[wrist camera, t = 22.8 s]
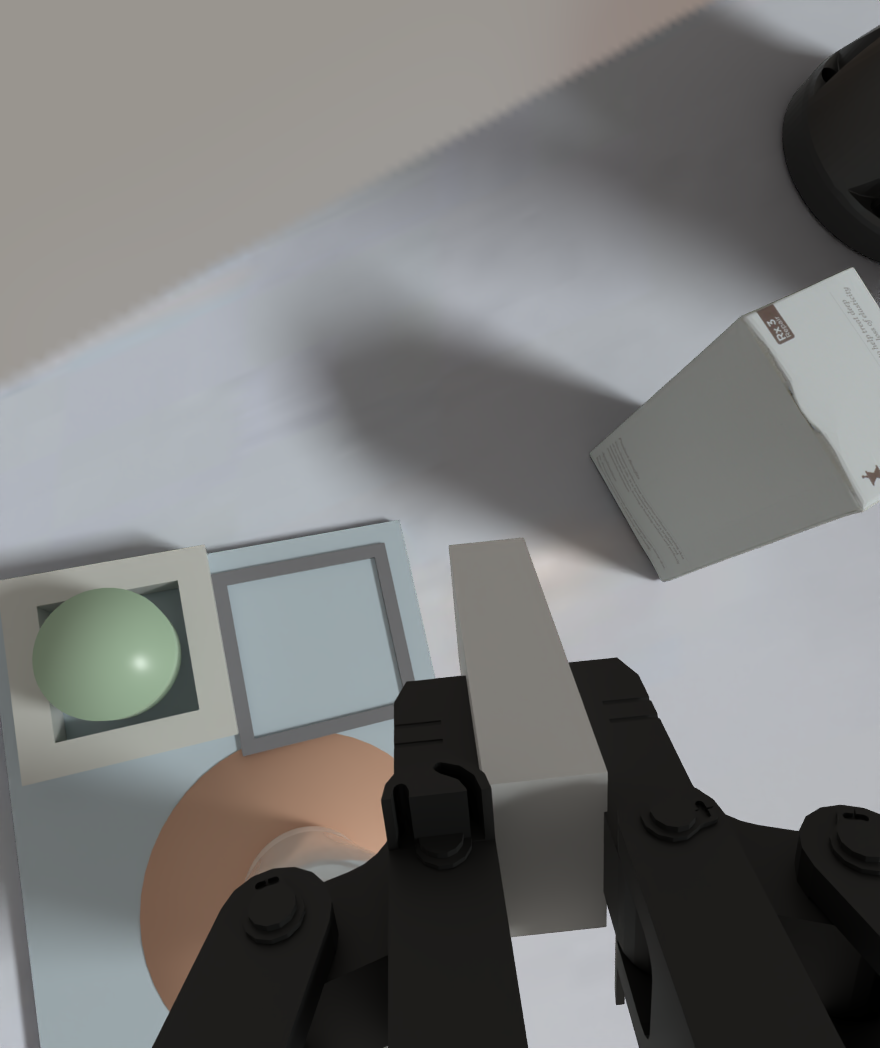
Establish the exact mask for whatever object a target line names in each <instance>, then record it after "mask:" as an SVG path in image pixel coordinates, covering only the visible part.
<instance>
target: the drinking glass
mask: <svg viewBox="0 0 880 1048" xmlns="http://www.w3.org/2000/svg"><path fill="white" fill-rule="evenodd" d="M376 854H377V853H375V852H373V851H371V850H368V849H366V848H364V847H362V846H359V845H357V844H355V843H354V842H353V841H351V840H350V839H349V838H348V837H346V836H345V835H343V834H342V833H340V832H338V831H335V830H333V829H330V828H326V827H321V826H305V827H299V828H295V829H292V830H289V831H287V832H285V833H283V834H281V835H279V836H278V837H276V838H275V839H273V840H272V841H271V842H270V843H268V844H267V845H266V846H265V847H264V848H263V849H262V850H261V851H260V853H259V854H258V855H257V857H256V858H255V859H254V861H253V863H252V864H251V866H250V868H249V870H248V873H247V875H246V878H245V881H244V883H245V882H246V881H247V880H249V879H250V878H251V877H253V876H255V875H258V874H260V873H263V872H265V871H268V870H270V869H273V868H284V867H297V868H301V869H304V870H307V871H311V872H313V873H314V874H316V875H317V876H318V877H319V878H320V879H321V880H322V881H323V882H325V881H327V880H330V879H332V878H335V877H337V876H340V875H342V874H345V873H347V872H349V871H351V870H353V869H355V868H357V867H359V866H361V865H363V864H365V863H366V862H367V861H368V860H370V859H371V858H372V857H373V856H375V855H376ZM385 1048H388V1046H387V1047H385Z"/></svg>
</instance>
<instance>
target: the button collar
mask: <svg viewBox="0 0 880 1048" xmlns="http://www.w3.org/2000/svg"><path fill="white" fill-rule="evenodd" d="M99 588H119V589H125V590H129V591H132V592H134V593H137V594H139V595H145V594H150V593H156V592H161V591H166V590H172V589H177V588H179V591H180V597H181V603H182V609H183V615H184V621H185V627H186V633H187V639H188V645H189V651H190V657H191V663H192V668H193V674H194V680H195V686H196V692H197V698H198V704H199V710H196V711H192V712H187V713H183V714H179V715H174V716H170V717H166V718H161V719H157V720H153V721H148V722H144V723H140V724H135V725H131V726H127V727H122V728H118V729H114V730H109V731H105V732H101V733H96V734H92V735H88V736H83V737H79V738H75V739H70V740H67V738H66V731H65V724H64V716H63V712H62V711H60V710H59V709H57V708H56V707H55V706H53V705H52V704H51V703H50V702H49V701H48V700H47V699H46V697H45V696H44V695H43V693H42V692H41V690H40V688H39V686H38V685H37V682H36V679H35V676H34V672H33V664H32V656H33V648H34V643H35V640H36V637H37V635H38V632H39V630H40V628H41V626H42V625H43V623H44V622H45V620H46V619H47V618H48V616H49V615H50V613H49V612H53V611H54V610H55V609H56V608H57V607H58V606H60V605H61V604H62V603H63V602H65V601H66V600H68V599H70V598H71V597H73V596H75V595H77V594H80V593H83V592H85V591H89V590H93V589H99ZM0 613H1V621H2V629H3V637H4V645H5V653H6V661H7V669H8V677H9V685H10V693H11V701H12V709H13V717H14V726H15V734H16V742H17V750H18V758H19V766H20V774H21V782H22V786H26V785H30V784H34V783H38V782H42V781H47V780H51V779H55V778H59V777H63V776H67V775H71V774H75V773H80V772H84V771H88V770H92V769H96V768H100V767H104V766H108V765H113V764H117V763H121V762H125V761H129V760H133V759H137V758H142V757H146V756H150V755H154V754H158V753H162V752H166V751H170V750H175V749H179V748H183V747H187V746H191V745H195V744H199V743H203V742H208V741H212V740H216V739H220V738H224V737H228V736H232V735H236V734H238V733H239V731H238V726H237V720H236V714H235V709H234V703H233V697H232V692H231V686H230V680H229V675H228V669H227V663H226V658H225V652H224V646H223V641H222V635H221V629H220V624H219V618H218V612H217V607H216V601H215V595H214V590H213V584H212V578H211V572H210V566H209V561H208V555H207V551H206V548H205V545H200V546H194V547H188V548H182V549H177V550H171V551H165V552H159V553H154V554H148V555H142V556H136V557H131V558H125V559H119V560H113V561H108V562H102V563H96V564H90V565H85V566H79V567H73V568H67V569H62V570H56V571H50V572H44V573H39V574H33V575H27V576H21V577H16V578H10V579H4V580H0Z"/></svg>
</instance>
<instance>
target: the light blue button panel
mask: <svg viewBox="0 0 880 1048" xmlns="http://www.w3.org/2000/svg"><path fill="white" fill-rule="evenodd" d="M207 555H208V561H209V566H210V572H211V578H212V584H213V590H214V595H215V601H216V607H217V612H218V618H219V624H220V629H221V635H222V641H223V646H224V652H225V658H226V663H227V669H228V675H229V680H230V686H231V692H232V697H233V703H234V709H235V714H236V720H237V726H238V731H239V733H238V734H236V735H232V736H228V737H224V738H220V739H216V740H212V741H208V742H203V743H199V744H195V745H191V746H187V747H183V748H179V749H175V750H170V751H166V752H162V753H158V754H154V755H150V756H146V757H142V758H137V759H133V760H129V761H125V762H121V763H117V764H113V765H108V766H104V767H100V768H96V769H92V770H88V771H84V772H80V773H75V774H71V775H67V776H63V777H59V778H55V779H51V780H47V781H42V782H38V783H34V784H30V785H26V786H22V782H21V774H20V766H19V758H18V750H17V742H16V734H15V726H14V717H13V709H12V701H11V693H10V685H9V677H8V669H7V661H6V653H5V645H4V637H3V629H2V621H1V613H0V717H1V726H2V734H3V742H4V750H5V759H6V767H7V775H8V783H9V792H10V800H11V808H12V816H13V825H14V833H15V841H16V849H17V858H18V866H19V874H20V882H21V891H22V899H23V907H24V916H25V924H26V932H27V940H28V949H29V957H30V965H31V973H32V982H33V990H34V998H35V1006H36V1015H37V1023H38V1031H39V1039H40V1048H152V1046H153V1044H154V1042H155V1040H156V1038H157V1036H158V1034H159V1032H160V1030H161V1028H162V1026H163V1024H164V1022H165V1020H166V1018H167V1016H168V1014H169V1012H170V1010H171V1008H172V1006H173V1004H174V1002H175V1000H176V998H177V996H178V994H179V992H180V990H181V988H182V986H183V984H184V982H185V980H186V978H187V976H188V974H189V972H190V970H191V968H192V966H193V964H194V962H195V960H196V958H197V956H198V954H199V952H200V950H201V948H202V946H203V944H204V942H205V940H206V938H207V936H208V934H209V932H210V930H211V928H212V926H213V924H214V922H215V920H216V918H217V916H218V914H219V912H220V910H221V908H222V907H223V905H224V904H225V902H226V901H227V900H228V898H229V897H230V896H231V894H232V893H233V891H234V890H235V889H237V888H238V887H239V886H241V885H242V884H243V883H244V881H245V878H246V875H247V873H248V870H249V868H250V866H251V864H252V863H253V861H254V859H255V858H256V857H257V855H258V854H259V853H260V851H261V850H262V849H263V848H264V847H265V846H266V845H267V844H268V843H270V842H271V841H272V840H273V839H275V838H276V837H278V836H279V835H281V834H283V833H285V832H287V831H289V830H292V829H295V828H299V827H305V826H321V827H326V828H330V829H333V830H335V831H338V832H340V833H342V834H343V835H345V836H346V837H348V838H349V839H350V840H351V841H353V842H354V843H355V844H357V845H359V846H362V847H364V848H366V849H368V850H371V851H373V852H375V853H378V852H379V850H380V849H381V848H382V847H383V845H384V844H385V843H386V841H387V837H386V831H385V824H384V818H383V811H382V805H381V798H382V794H383V790H384V787H385V784H386V783H387V782H388V780H389V779H390V778H391V777H392V776H393V774H394V701H395V700H396V698H397V696H398V695H399V693H400V691H401V690H402V688H403V686H404V685H405V683H406V682H407V681H417V680H426V679H435V675H434V671H433V666H432V662H431V657H430V653H429V648H428V644H427V640H426V635H425V631H424V626H423V622H422V617H421V613H420V609H419V604H418V600H417V595H416V591H415V586H414V582H413V577H412V573H411V569H410V564H409V560H408V555H407V551H406V546H405V542H404V538H403V533H402V529H401V524H400V520H395V521H390V522H384V523H379V524H373V525H367V526H362V527H356V528H350V529H345V530H339V531H333V532H328V533H322V534H316V535H311V536H305V537H299V538H294V539H288V540H283V541H277V542H271V543H266V544H260V545H254V546H249V547H243V548H237V549H232V550H226V551H220V552H215V553H209V554H207ZM141 596H143V597H145V598H147V599H148V600H149V601H151V602H152V603H153V604H154V605H155V606H156V607H157V608H158V609H159V610H160V611H161V612H162V613H163V614H164V615H165V616H166V617H167V618H168V619H169V621H170V622H171V623H172V624H173V626H174V628H175V630H176V632H177V634H178V637H179V640H180V644H181V653H182V654H181V665H180V670H179V673H178V676H177V678H176V681H175V683H174V685H173V686H172V688H171V689H170V691H169V692H168V693H167V695H166V696H165V697H164V698H163V699H162V700H161V701H160V702H159V703H158V704H156V705H155V706H154V707H152V708H151V709H149V710H147V711H146V712H144V713H142V714H139V715H137V716H134V717H131V718H127V719H121V720H109V721H89V720H83V719H78V718H75V717H72V716H70V715H67V714H66V713H64V712H63V716H64V724H65V731H66V738H67V740H70V739H75V738H79V737H83V736H88V735H92V734H96V733H101V732H105V731H109V730H114V729H118V728H122V727H127V726H131V725H135V724H140V723H144V722H148V721H153V720H157V719H161V718H166V717H170V716H174V715H179V714H183V713H187V712H192V711H196V710H199V704H198V698H197V692H196V686H195V680H194V674H193V668H192V663H191V657H190V651H189V645H188V639H187V633H186V627H185V621H184V615H183V609H182V603H181V597H180V591H179V588H177V589H172V590H166V591H161V592H156V593H150V594H145V595H141ZM49 613H50V614H51V613H52V612H49Z"/></svg>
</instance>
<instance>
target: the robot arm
mask: <svg viewBox="0 0 880 1048" xmlns="http://www.w3.org/2000/svg"><path fill="white" fill-rule="evenodd" d="M783 145H784V152H785V157H786V161H787V165H788V168H789V171H790V174H791V176H792V179H793V181H794V183H795V185H796V187H797V189H798V191H799V193H800V195H801V196H802V198H803V200H804V201H805V203H806V204H807V206H808V207H809V208H810V210H811V211H812V212H813V214H814V215H815V216H816V217H817V218H818V220H819V221H820V222H821V223H822V224H823V225H824V226H825V227H826V228H827V229H828V230H829V231H830V232H831V233H832V234H833V235H835V236H836V237H837V238H838V239H840V240H841V241H842V242H844V243H845V244H846V245H848V246H849V247H851V248H852V249H854V250H855V251H857V252H859V253H861V254H862V255H865V256H867V257H869V258H871V259H873V260H876V261H878V262H880V25H879V26H877V27H876V28H874V29H872V30H871V31H869V32H868V33H866V34H864V35H863V36H861V37H860V38H858V39H856V40H855V41H853V42H852V43H850V44H848V45H847V46H845V47H844V48H842V49H840V50H839V51H837V52H836V53H834V54H833V55H831V56H830V57H829V58H828V59H826V60H825V61H824V62H823V63H822V64H821V65H820V66H819V67H818V68H817V69H816V70H815V71H814V72H813V74H812V75H811V76H810V77H809V78H808V79H807V80H806V82H805V83H804V84H803V85H802V86H801V87H800V88H799V89H798V91H797V92H796V93H795V95H794V96H793V98H792V99H791V101H790V103H789V106H788V108H787V111H786V114H785V119H784V125H783ZM449 554H450V565H451V576H452V587H453V599H454V610H455V621H456V632H457V643H458V654H459V663H460V670H461V676H455V677H445V678H436V679H426V680H417V681H407V682H406V683H405V685H404V686H403V688H402V690H401V691H400V693H399V695H398V696H397V698H396V700H395V701H394V774H393V776H392V777H391V778H390V779H389V780H388V782H387V783H386V784H385V787H384V790H383V794H382V798H381V805H382V811H383V818H384V824H385V831H386V837H387V841H386V843H385V844H384V845H383V847H382V848H381V849H380V850H379V852H378V853H377V854H376V855H375V856H373V857H372V858H371V859H370V860H368V861H367V862H366V863H365V864H363V865H361V866H359V867H357V868H355V869H353V870H351V871H349V872H347V873H345V874H342V875H340V876H337V877H335V878H332V879H330V880H327V881H325V882H323V881H322V880H321V879H320V878H319V877H318V876H317V875H316V874H314V873H313V872H311V871H307V870H304V869H301V868H297V867H284V868H273V869H270V870H268V871H265V872H263V873H260V874H258V875H255V876H253V877H251V878H250V879H249V880H247V881H246V882H245V883H243V884H242V885H241V886H239V887H238V888H237V889H235V890H234V891H233V893H232V894H231V896H230V897H229V898H228V900H227V901H226V902H225V904H224V905H223V907H222V908H221V910H220V912H219V914H218V916H217V918H216V920H215V922H214V924H213V926H212V928H211V930H210V932H209V934H208V936H207V938H206V940H205V942H204V944H203V946H202V948H201V950H200V952H199V954H198V956H197V958H196V960H195V962H194V964H193V966H192V968H191V970H190V972H189V974H188V976H187V978H186V980H185V982H184V984H183V986H182V988H181V990H180V992H179V994H178V996H177V998H176V1000H175V1002H174V1004H173V1006H172V1008H171V1010H170V1012H169V1014H168V1016H167V1018H166V1020H165V1022H164V1024H163V1026H162V1028H161V1030H160V1032H159V1034H158V1036H157V1038H156V1040H155V1042H154V1044H153V1046H152V1048H385V1047H387V1046H388V1048H528V1044H527V1038H526V1031H525V1025H524V1019H523V1012H522V1006H521V999H520V993H519V987H518V980H517V974H516V967H515V961H514V955H513V948H512V942H511V937H517V936H526V935H535V934H545V933H554V932H563V931H572V930H581V929H590V928H600V927H606V912H607V906H608V909H609V913H610V916H611V920H612V923H613V927H614V930H615V933H616V947H615V998H616V1005H621V1004H624V1000H625V999H626V1002H627V1006H628V1009H629V1013H630V1016H631V1020H632V1024H633V1027H634V1031H635V1034H636V1038H637V1042H638V1045H639V1048H880V814H878V813H875V812H873V811H870V810H868V809H865V808H860V807H853V806H846V805H836V806H829V807H822V808H819V809H817V810H816V811H814V812H812V813H811V814H809V815H807V816H806V817H805V819H804V822H803V824H802V826H801V828H800V830H799V831H794V830H787V829H781V828H774V827H767V826H761V825H756V824H752V823H747V822H743V821H740V820H737V819H735V818H733V817H730V816H728V815H725V813H724V812H723V811H722V810H721V808H720V807H719V806H718V805H717V803H716V802H715V801H714V800H713V799H712V798H710V797H709V796H707V795H706V794H704V793H703V792H701V791H700V790H698V789H697V788H694V786H693V785H692V783H691V781H690V779H689V777H688V775H687V773H686V771H685V769H684V767H683V765H682V763H681V761H680V759H679V757H678V755H677V753H676V751H675V749H674V747H673V744H672V742H671V740H670V738H669V736H668V734H667V732H666V730H665V728H664V726H663V724H662V722H661V720H660V718H658V715H657V712H656V710H655V708H654V706H653V704H652V702H651V700H649V696H648V694H647V691H646V689H645V687H644V685H643V683H642V681H641V679H640V677H639V675H638V674H637V673H635V672H634V671H633V670H632V669H630V668H629V667H628V666H627V665H625V664H624V663H623V662H622V661H621V660H619V659H618V658H608V659H598V660H589V661H579V662H570V663H568V660H567V658H566V655H565V652H564V649H563V646H562V644H561V641H560V638H559V635H558V632H557V630H556V627H555V624H554V621H553V618H552V616H551V613H550V610H549V607H548V605H547V602H546V599H545V596H544V593H543V591H542V588H541V585H540V582H539V579H538V577H537V574H536V571H535V568H534V566H533V563H532V560H531V557H530V554H529V552H528V549H527V546H526V543H525V540H524V538H516V539H506V540H496V541H486V542H476V543H467V544H457V545H449Z"/></svg>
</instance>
